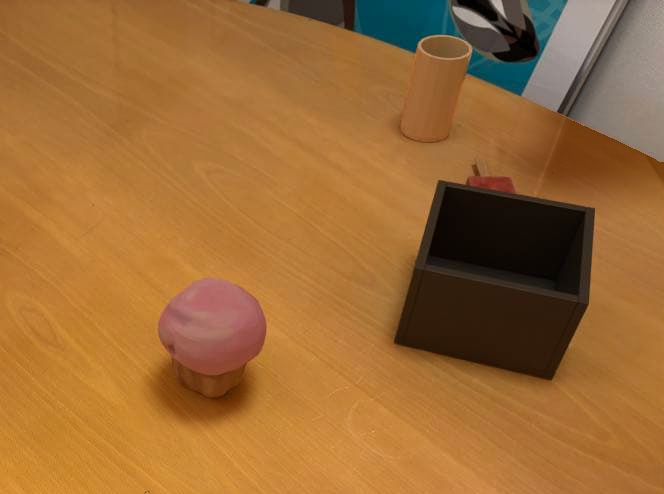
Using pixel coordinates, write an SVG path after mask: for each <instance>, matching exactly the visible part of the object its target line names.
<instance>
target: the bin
mask: <svg viewBox="0 0 664 494" xmlns="http://www.w3.org/2000/svg"><path fill="white" fill-rule="evenodd" d="M595 218H596V207H591V206H585V205H581V204H579V205H578V204H574V203H569V202H564V201H558V200H552V199H547V198H541V197H536V196H531V195H525V194H519V193H516V194H514V193H509V192H503V191H498V190H492V189H487V188H481V187H476V186H470V185H466V183H465V184H464V183H459V182H453V181H447V180H443V179H438V180H437V183H436V187H435V190H434V195H433V198H432V202H431V204H430V210H429V212H428V217H427V219H426V222H425V223H426V224H425V227H424V231H423V234H422V238H421V240H420V245H419V249H418V251H417V255H416V260H415V263H414V267H413V269H412V270H413V271H412V274H411V278H410V281H409V285H408V288H407V292H406V296H405V298H404V299H405V300H404V303H403V307H402V309H401V310H402V311H401V314H400V318H399V321H398V325H397V328H396V333H395V335H394V340H393V344H395V345H399V346H404V347H407V348H412V349H416V350H420V351H425V352H429V353H433V354H438V355H441V356H447V357H450V358H455V359H459V360H464V361H468V362H473V363H477V364H481V365H486V366H490V367H493V368H498V369H502V370H507V371H511V372H515V373H520V374H524V375H528V376H531V377H537V378H541V379H544V380H549V381H552V380H554V377H555V374H556V373H557V370H558V369H559V367H560V365H561V362H562V360H563V359H564V357H565V354H566V352H567V350H568V348H569V346H570V345H571V342H572V341H573V339H574V336H575V333H576V332H577V330H578V327H579V325H580V324H581V322H582V319H583V317H584V315H585V313H586V311H587V309H588V307H589V305H590V295H591V294H590V293H591V292H590V291H591V279H592V265H593V264H592V263H593V249H594V233H595V220H596V219H595Z"/></svg>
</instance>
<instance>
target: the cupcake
mask: <svg viewBox="0 0 664 494" xmlns="http://www.w3.org/2000/svg"><path fill="white" fill-rule="evenodd" d="M157 334H158V338H159V341H160V344H162V346H163V348H164V349H165V350H166V351H167V353H168V354H169V356H171V361H172V362H171V363H172V364H171V365H172V371H173V374H174V378H175V380H176V381H177V382H178V383H179V384H180V385H181V386H183V387H185V388H187V389H188V390H192V391H195V392H197V393H199V394H201V395H203V396H204V397H205V398H211V399H213V398H218V397H222V396H224V395H225V394H226V393H227V391H229V390H230V389H232V388H234V387H236V386H237V385H238V384H239V383H240V381H241V379H242V377H243V374H244V372H245V369H246V367H247V365H248V363H249V362H251V361H252V360H254V359H255V358H256V357H258V356H259V355H260V353H261V352H262V350H263V347H264V345H265V341H266V337H267V319H266V317H265V313H264V311H263V308H262V307H261V304H260V302H259V300H257V298H256V297H255V296H254V295H253V294H251V293H250V292H249V291H247V290H246V289H245V288H243V287H242V286H240V285H238V284H236V283H233V282H231V281H229V280H226V279H223V278H218V277H204V278H200V279H198V280H195V281H194V282H193V283H191V284H190V285H188V286H187V287H186V288H185V289H183V290H182V291H181V292H179V293H177V294H176V295H174V296H173V297H172V298H171V299H170V300H169V302H168V303H167V304H166V306H165V307H164V308H163V310H162V312H161V314H160V317H159V319H158V323H157Z"/></svg>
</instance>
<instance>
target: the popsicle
mask: <svg viewBox="0 0 664 494" xmlns="http://www.w3.org/2000/svg"><path fill="white" fill-rule="evenodd" d="M473 159H474V163H475V165H476V169H477V171H478V175H476V176H475V175H471V176H467V179H466V181H465V185H470V186H476V187H481V188H487V189H492V190H498V191H503V192H509V193H514V194H517V192H516V188H515V186H514V183H513V180H512V177H511V176H502V175H501V176H498V175H497V176H495V175H493V176H492V175H490V173H489V169H488V167H487V164H486V161H485V159H484V157H483V156H482V155H475V156H474V158H473Z"/></svg>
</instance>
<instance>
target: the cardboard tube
mask: <svg viewBox="0 0 664 494" xmlns="http://www.w3.org/2000/svg"><path fill="white" fill-rule="evenodd" d="M414 55H415V56H414V60H413V65H412V69H411V73H410V78H409V82H408V86H407V90H406V91H407V92H406V96H405V99H404V100H405V101H404V104H403V109H402V113H401V117H400V123H399V124H400V125H399V130H400V132H401V133H402V135H404V136H405V137H406V138H409V139H411V140H414V141H417V142H422V143H436V142H440V141H443V140H445V139H447V137H448V136H449V135H450V132H451V130H452V127H453V124H454V120H455V115H456V113H457V110H458V109H457V108H458V105H459V102H460V97H461V94H462V91H463V86H464V82H465V79H466V75H467V73H468V68H469V65H470V62H471V57H472V55H473V46H472V45H471V44H470V43H469V42H468V41H466V40H464V39H462V38H461V37H457V36H453V35H447V34H446V35H445V34H435V35H429V36H426V37H424V38H421V39H420V41H418V43H417V47H416V51H415V54H414Z"/></svg>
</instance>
